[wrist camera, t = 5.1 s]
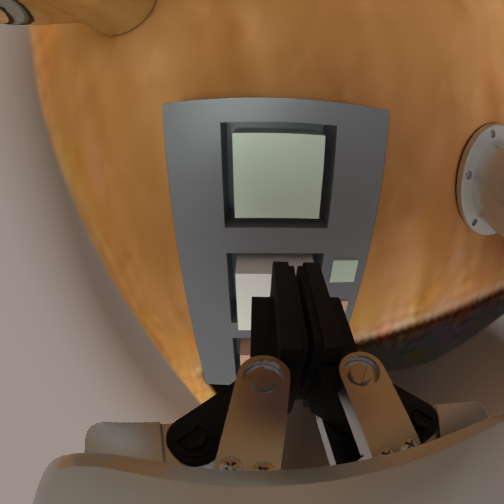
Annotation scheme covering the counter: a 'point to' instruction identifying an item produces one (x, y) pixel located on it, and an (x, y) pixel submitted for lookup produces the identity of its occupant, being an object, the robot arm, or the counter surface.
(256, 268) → the white key
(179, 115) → the keyguard board
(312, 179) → the sage key
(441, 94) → the counter surface
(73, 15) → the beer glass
